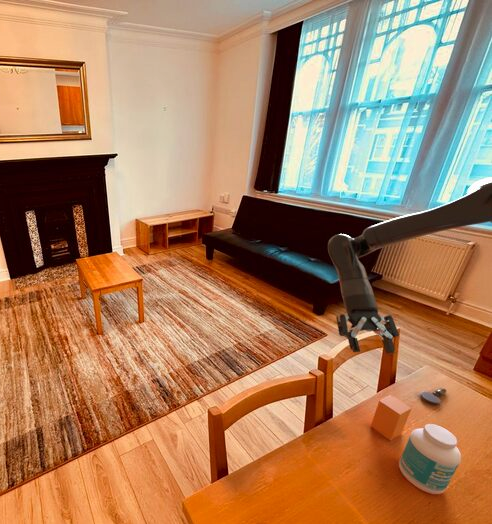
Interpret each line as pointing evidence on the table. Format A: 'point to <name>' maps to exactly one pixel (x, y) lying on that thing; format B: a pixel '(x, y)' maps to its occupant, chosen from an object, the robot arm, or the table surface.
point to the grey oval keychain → (433, 396)
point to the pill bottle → (430, 458)
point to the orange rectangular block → (390, 417)
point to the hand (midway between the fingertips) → (373, 352)
